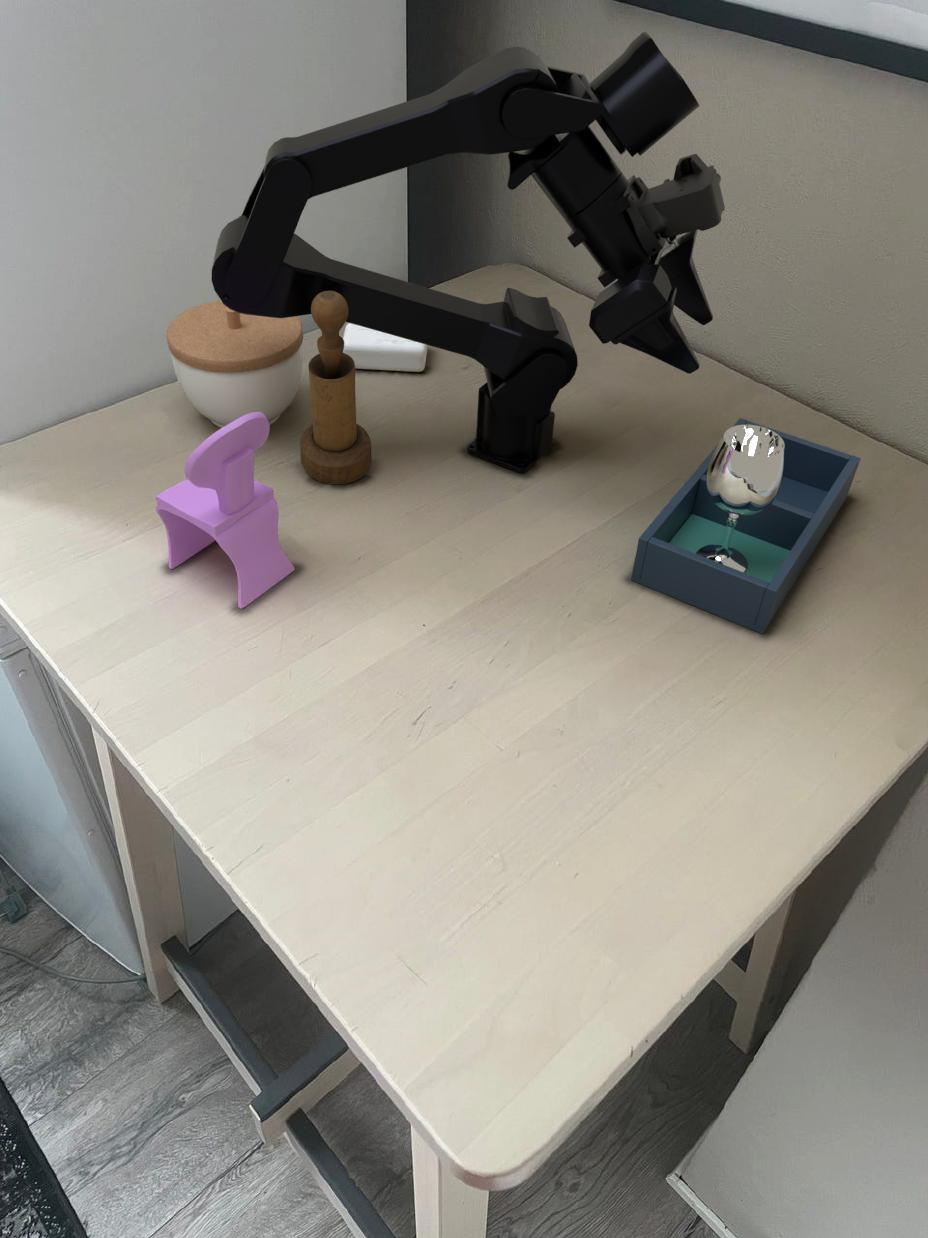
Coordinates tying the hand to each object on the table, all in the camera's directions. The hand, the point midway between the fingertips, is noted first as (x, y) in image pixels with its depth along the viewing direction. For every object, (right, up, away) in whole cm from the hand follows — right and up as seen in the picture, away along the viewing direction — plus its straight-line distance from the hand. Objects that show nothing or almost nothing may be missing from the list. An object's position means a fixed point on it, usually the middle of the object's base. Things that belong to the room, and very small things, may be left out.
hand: (702, 345), depth 88 cm
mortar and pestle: (-32, -9, +8) cm, 35 cm away
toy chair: (-40, -19, -3) cm, 45 cm away
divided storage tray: (+4, -16, +2) cm, 17 cm away
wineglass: (+1, -19, -1) cm, 19 cm away
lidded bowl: (-42, -3, +14) cm, 45 cm away
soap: (-29, +4, +23) cm, 38 cm away
